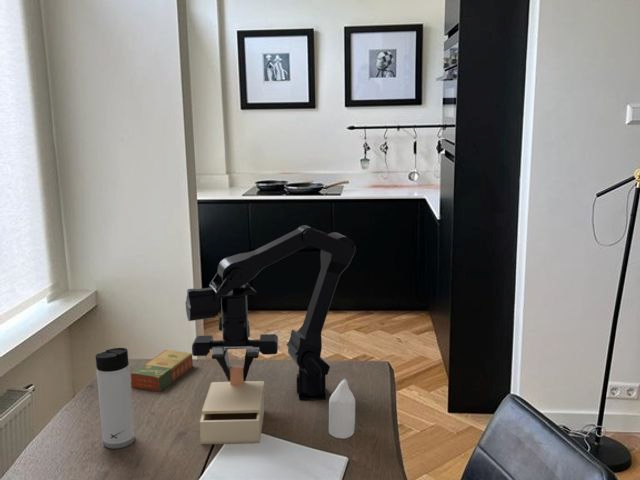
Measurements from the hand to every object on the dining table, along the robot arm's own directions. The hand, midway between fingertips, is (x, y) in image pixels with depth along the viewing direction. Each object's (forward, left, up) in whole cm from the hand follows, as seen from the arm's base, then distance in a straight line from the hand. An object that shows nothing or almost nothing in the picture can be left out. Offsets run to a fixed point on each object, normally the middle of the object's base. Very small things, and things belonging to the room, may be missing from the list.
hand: (237, 380), depth 142 cm
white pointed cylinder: (-23, +12, -7) cm, 27 cm away
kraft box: (0, +9, -7) cm, 11 cm away
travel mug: (+23, +14, -7) cm, 28 cm away
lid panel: (0, +6, -1) cm, 6 cm away
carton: (+21, -18, -7) cm, 29 cm away
